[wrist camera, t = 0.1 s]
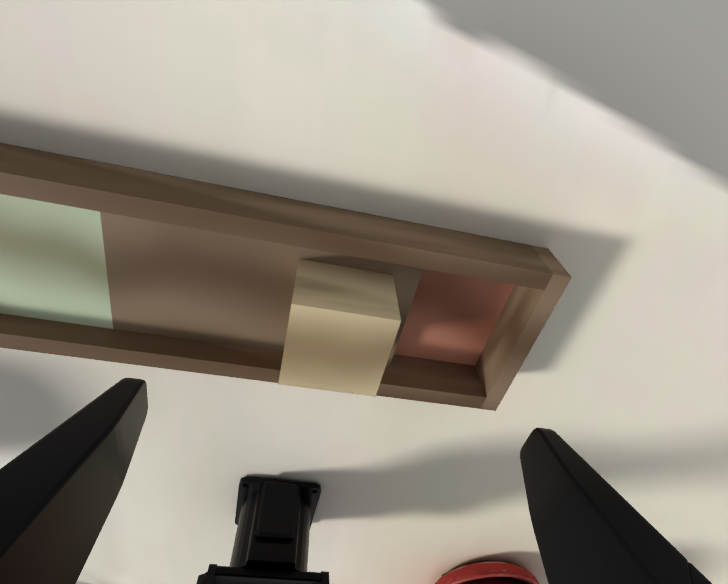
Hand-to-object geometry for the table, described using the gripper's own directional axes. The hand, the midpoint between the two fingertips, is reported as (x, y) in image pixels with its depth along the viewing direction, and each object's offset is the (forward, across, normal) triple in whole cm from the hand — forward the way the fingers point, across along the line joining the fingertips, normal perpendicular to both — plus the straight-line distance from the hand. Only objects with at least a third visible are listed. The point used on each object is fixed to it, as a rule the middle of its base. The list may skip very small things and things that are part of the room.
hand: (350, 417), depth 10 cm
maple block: (+13, -1, +6) cm, 14 cm away
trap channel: (+14, +7, +6) cm, 17 cm away
